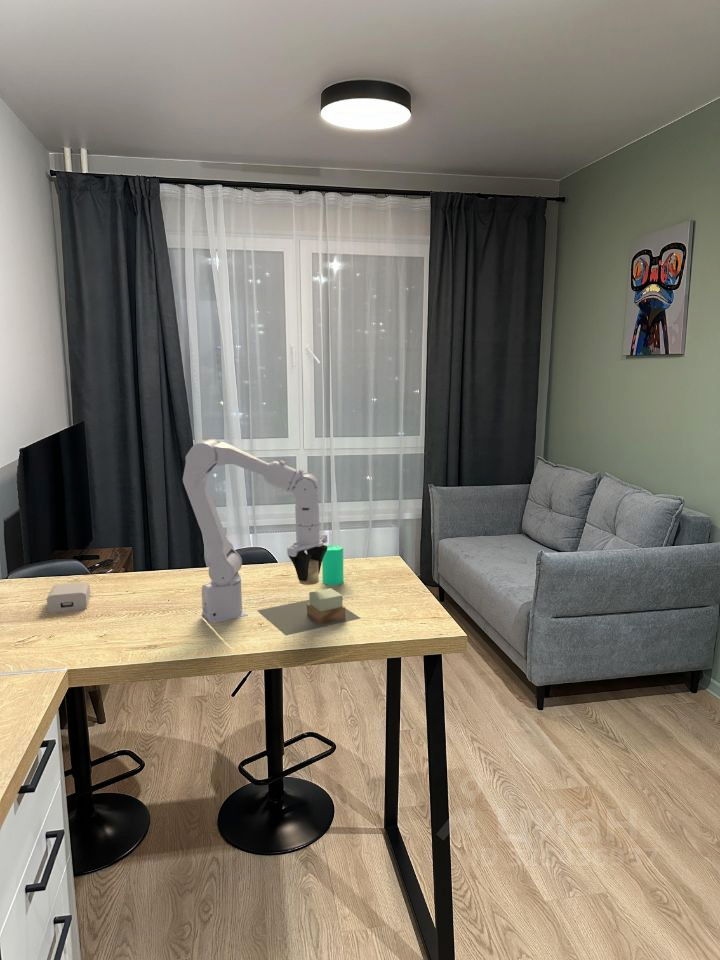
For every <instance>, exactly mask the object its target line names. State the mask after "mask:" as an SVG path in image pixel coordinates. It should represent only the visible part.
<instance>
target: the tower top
mask: <svg viewBox="0 0 720 960" xmlns="http://www.w3.org/2000/svg"><path fill="white" fill-rule="evenodd" d="M308 600H309V601H310V605H312V606H313V607H314V608H316V609H317V610H319V611H320V612H322V611H326V610H331V609H336V608H340V607H343V606H344V605H343V595H342V594H341V593H339V592H338V591H336V590H334V589H333V588H331V587H330V588H326V589H319V590H314V591H310V592H309V599H308ZM342 605H343V606H342Z"/></svg>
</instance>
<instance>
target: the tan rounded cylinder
mask: <svg viewBox="0 0 720 960" xmlns="http://www.w3.org/2000/svg"><path fill="white" fill-rule="evenodd" d="M319 575H320V572H319V571H318V561H317V560H313V559H310V561H309V566H308V578H307V581H300V580H299V579H298V582H299V583H300V585H304V586H309V585H310V586H311V585H312V586H313V585H316V584H318V583H319V582H320V579H319Z"/></svg>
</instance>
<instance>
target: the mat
mask: <svg viewBox="0 0 720 960" xmlns="http://www.w3.org/2000/svg"><path fill="white" fill-rule="evenodd" d="M308 603H310V601H309V599H306V600H301V601H297V602H292V603H288V604H282V605H277V606H276V605H275V606H272V607H268V608H267V607H266V608H262V609H257V610H256V611H257V613H259V614H260V615H261V616H262V617H264V618H265V620H267V621H268V622H269V623H270V624H272V625H273V626H274V627H275V628H276V629H278V630H279V631H280V632H281V633H282V634H283V635H285V636H289V635H293V634H294V635H295V634H298V633H303V632H306V631H310V630H316V629H320V628H324V627H329V626H333V625H334V626H335V625H338V624H342V623H346V622H351V621H355V620H359V619H361V617H360V616H358V615H357V614H355V613H354V612H353V611H351V610H349V609H347V608H346V607H345V619H343V620H339V621H334V622H330V623H325V624H321V625H319V624H318V623H317V622H315V621H314V620H313V619H311V618H310V617H309V616H307V604H308Z"/></svg>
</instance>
